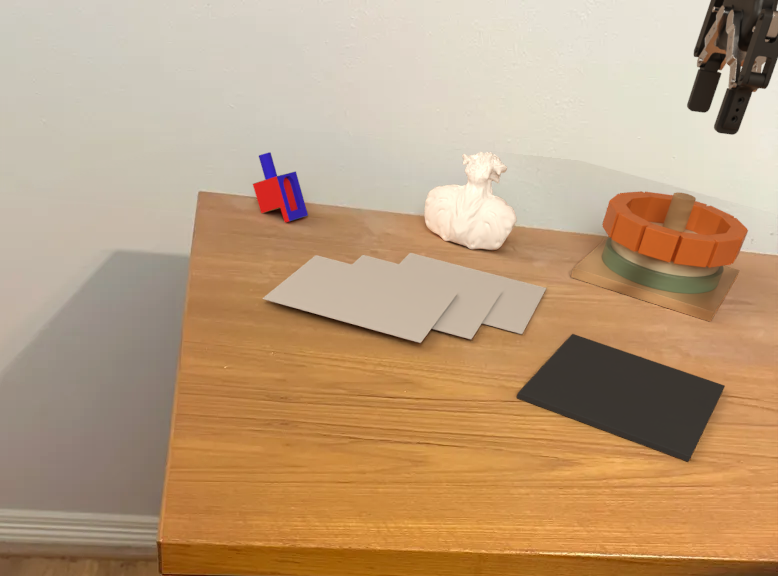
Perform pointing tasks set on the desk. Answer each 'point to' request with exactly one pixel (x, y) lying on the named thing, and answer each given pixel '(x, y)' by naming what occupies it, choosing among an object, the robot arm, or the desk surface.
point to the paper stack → (409, 296)
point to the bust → (472, 206)
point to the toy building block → (279, 191)
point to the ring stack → (659, 271)
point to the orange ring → (706, 248)
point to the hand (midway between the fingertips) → (710, 121)
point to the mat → (625, 395)
